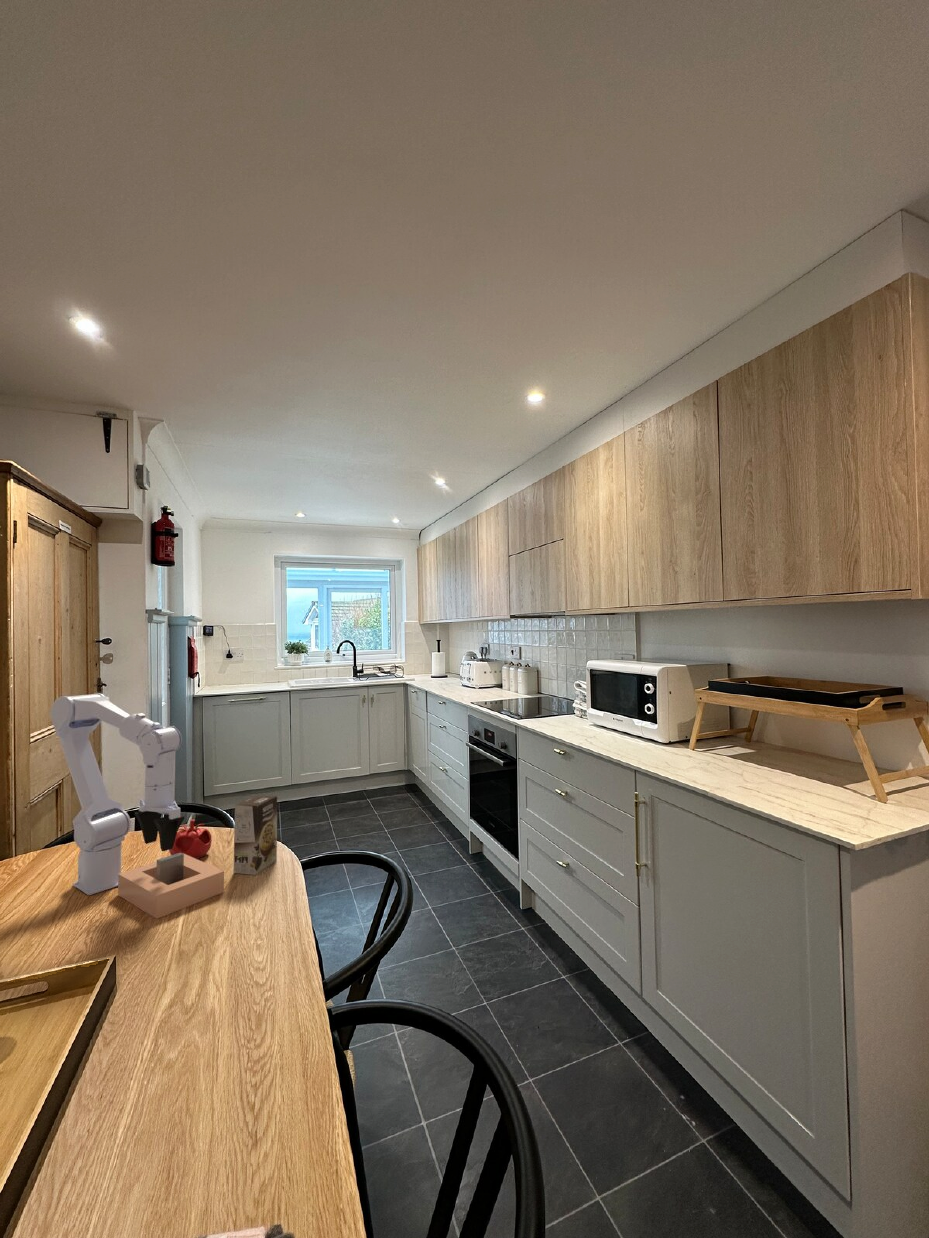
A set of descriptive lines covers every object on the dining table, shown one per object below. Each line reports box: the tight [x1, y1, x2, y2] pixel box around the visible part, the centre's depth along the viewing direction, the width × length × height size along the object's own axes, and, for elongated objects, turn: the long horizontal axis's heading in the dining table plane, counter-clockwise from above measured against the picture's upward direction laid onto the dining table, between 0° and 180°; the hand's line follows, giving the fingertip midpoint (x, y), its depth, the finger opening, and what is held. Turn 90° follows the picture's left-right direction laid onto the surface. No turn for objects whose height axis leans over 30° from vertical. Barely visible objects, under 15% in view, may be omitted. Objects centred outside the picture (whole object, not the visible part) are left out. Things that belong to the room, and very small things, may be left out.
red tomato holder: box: [168, 819, 213, 860], centre depth 138 cm, size 10×10×9 cm
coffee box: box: [233, 795, 278, 876], centre depth 131 cm, size 9×6×16 cm
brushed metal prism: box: [156, 853, 184, 885], centre depth 116 cm, size 4×5×8 cm
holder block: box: [117, 854, 225, 919], centre depth 117 cm, size 18×14×4 cm
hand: (158, 845), depth 117 cm, fingers open, 7 cm apart
